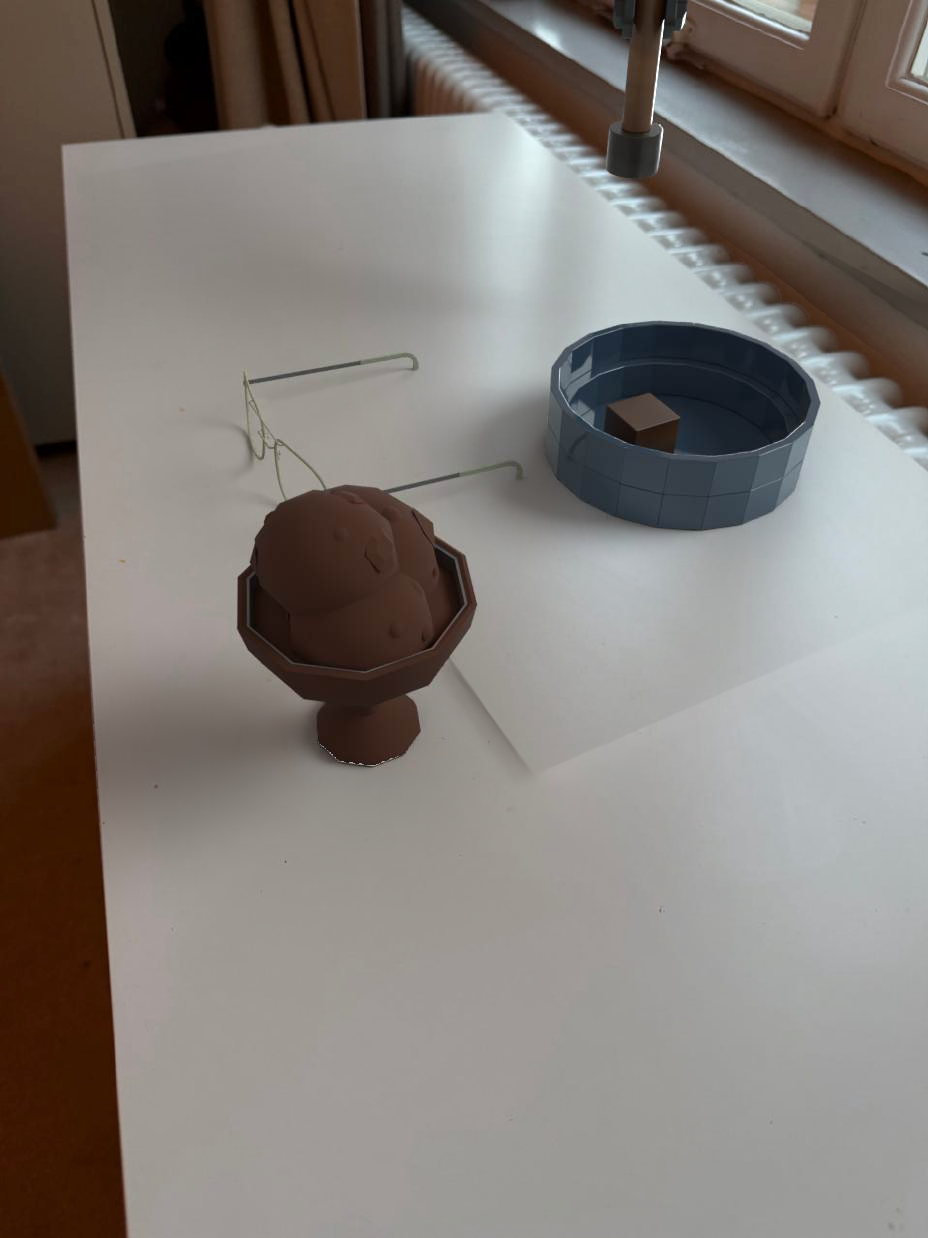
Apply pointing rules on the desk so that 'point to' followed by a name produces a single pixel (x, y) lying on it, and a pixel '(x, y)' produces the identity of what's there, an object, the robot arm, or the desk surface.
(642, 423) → the block
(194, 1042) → the desk surface
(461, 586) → the ice cream bowl
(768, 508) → the bowl
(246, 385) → the eyeglasses
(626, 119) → the pestle
